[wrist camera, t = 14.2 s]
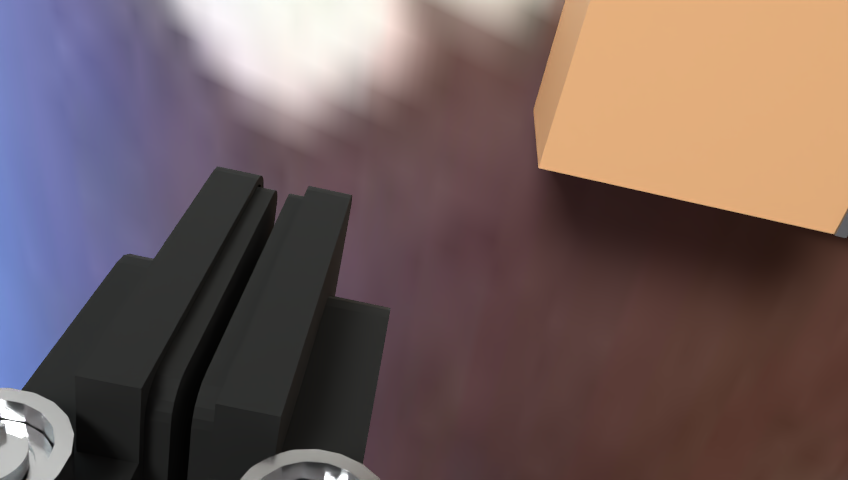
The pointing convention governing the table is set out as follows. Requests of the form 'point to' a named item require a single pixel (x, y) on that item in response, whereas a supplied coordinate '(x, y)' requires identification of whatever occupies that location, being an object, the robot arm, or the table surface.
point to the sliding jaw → (704, 103)
